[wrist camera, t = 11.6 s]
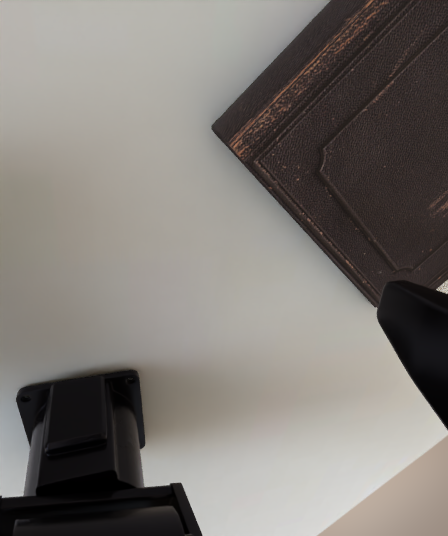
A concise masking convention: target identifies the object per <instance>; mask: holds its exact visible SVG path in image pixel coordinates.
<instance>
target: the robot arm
mask: <svg viewBox="0 0 448 536" xmlns="http://www.w3.org/2000/svg"><path fill="white" fill-rule="evenodd" d="M377 319H378V322H379V324H380V326H381V327H382V329H383V331H384V333H385V334H386V336H387V338H388V340H389V341H390V343H391V345H392V347H393V348H394V350H395V352H396V354H397V355H398V357H399V359H400V360H401V362H402V364H403V366H404V367H405V369H406V371H407V372H408V374H409V376H410V377H411V379H412V380H413V382H414V383H415V385H416V386H417V388H418V389H419V390H420V392H421V393H422V395H423V396H424V397H425V399H426V400H427V402H428V403H429V404H430V406H431V407H432V409H433V410H434V412H435V413H436V414H437V416H438V417H439V419H440V420H441V421H442V423H443V424H444V426H445V427H446V428H447V430H448V294H446V293H443V292H440V291H437V290H434V289H431V288H428V287H425V286H422V285H418V284H415V283H412V282H409V281H406V280H397V281H389V282H387V283H386V284H385V285H384V287H383V290H382V294H381V298H380V301H379V305H378V309H377ZM129 378H133V379H131V380H128V379H129ZM24 396H30V397H24ZM16 402H17V405H18V408H19V412H20V415H21V418H22V422H23V425H24V428H25V432H26V435H27V438H28V441H29V445H30V454H29V461H28V468H27V475H26V481H25V488H24V495H23V496H21V497H8V498H2V496H0V536H202V533H201V531H200V528H199V526H198V523H197V521H196V518H195V516H194V513H193V511H192V508H191V506H190V503H189V501H188V498H187V496H186V493H185V491H184V488H183V486H182V483H170V485H168V486H155V487H144V480H143V471H142V463H141V454H140V449H142V448H143V447H144V446H145V434H144V424H143V413H142V402H141V391H140V380H139V374H138V372H137V371H135V370H126V371H120V372H114V373H108V374H102V375H96V376H90V377H84V378H77V379H71V380H65V381H59V382H53V383H47V384H41V385H35V386H29V387H24V388H21V389H20V390H19V391H18V393H17V397H16Z"/></svg>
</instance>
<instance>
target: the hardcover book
mask: <svg viewBox="0 0 448 536" xmlns="http://www.w3.org/2000/svg"><path fill="white" fill-rule="evenodd" d="M212 130H213V131H214V133H215V134H216V135H217V136H218V137H219V138H220V139H221V141H222V142H223V143H224V144H225V145H226V146H227V147H228V148H229V149H230V150H231V151H232V153H233V154H234V155H235V156H236V157H237V158H238V159H239V160H240V161H241V162H242V163H243V164H244V166H245V167H246V168H247V169H248V170H249V171H250V172H251V173H252V174H253V175H254V176H255V178H256V179H257V180H258V181H259V182H260V183H261V184H262V185H263V186H264V187H265V188H266V190H267V191H268V192H269V193H270V194H271V195H272V196H273V197H274V198H275V199H276V200H277V201H278V203H279V204H280V205H281V206H282V207H283V208H284V209H285V210H286V211H287V212H288V213H289V215H290V216H291V217H292V218H293V219H294V220H295V221H296V222H297V223H298V224H299V225H300V227H301V228H302V229H303V230H304V231H305V232H306V233H307V234H308V235H309V236H310V237H311V238H312V240H313V241H314V242H315V243H316V244H317V245H318V246H319V247H320V248H321V249H322V250H323V252H324V253H325V254H326V255H327V256H328V257H329V258H330V259H331V260H332V261H333V262H334V264H335V265H336V266H337V267H338V268H339V269H340V270H341V271H342V272H343V273H344V274H345V275H346V277H347V278H348V279H349V280H350V281H351V282H352V283H353V284H354V285H355V286H356V287H357V289H358V290H359V291H360V292H361V293H362V294H363V295H364V296H365V297H366V298H367V299H368V301H369V302H370V303H371V304H372V305H373V306H374V307H377V308H378V305H379V301H380V298H381V294H382V290H383V287H384V285H385V284H386V283H387V282H389V281H397V280H406V281H409V282H412V283H415V284H418V285H422V286H425V287H428V288H431V289H434V290H436V289H437V288H438V287H439V286H441V285H442V284H443V283H444V282H445V281H446V280H448V0H331V1H330V2H329V3H328V4H327V5H326V6H325V7H324V8H323V10H322V11H321V12H320V13H319V14H318V15H317V16H316V17H315V18H314V19H313V20H312V21H311V22H310V23H309V24H308V25H307V26H306V27H305V28H304V30H303V31H302V32H301V33H300V34H299V35H298V36H297V37H296V38H295V39H294V40H293V41H292V42H291V43H290V44H289V45H288V46H287V47H286V48H285V49H284V51H283V52H282V53H281V54H280V55H279V56H278V57H277V58H276V59H275V60H274V61H273V62H272V63H271V64H270V65H269V66H268V67H267V68H266V69H265V71H264V72H263V73H262V74H261V75H260V76H259V77H258V78H257V79H256V80H255V81H254V82H253V83H252V84H251V85H250V86H249V87H248V88H247V89H246V91H245V92H244V93H243V94H242V95H241V96H240V97H239V98H238V99H237V100H236V101H235V102H234V103H233V104H232V105H231V106H230V107H229V108H228V109H227V110H226V112H225V113H224V114H223V115H222V116H221V117H220V118H219V119H218V120H217V121H216V122H215V123H214V124H213V125H212Z"/></svg>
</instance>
